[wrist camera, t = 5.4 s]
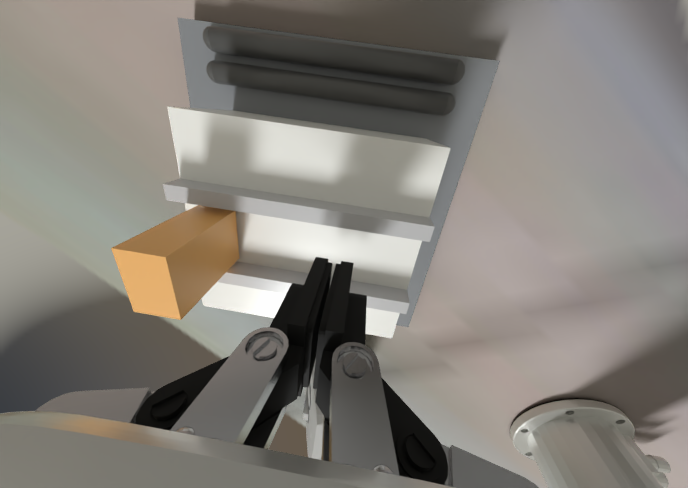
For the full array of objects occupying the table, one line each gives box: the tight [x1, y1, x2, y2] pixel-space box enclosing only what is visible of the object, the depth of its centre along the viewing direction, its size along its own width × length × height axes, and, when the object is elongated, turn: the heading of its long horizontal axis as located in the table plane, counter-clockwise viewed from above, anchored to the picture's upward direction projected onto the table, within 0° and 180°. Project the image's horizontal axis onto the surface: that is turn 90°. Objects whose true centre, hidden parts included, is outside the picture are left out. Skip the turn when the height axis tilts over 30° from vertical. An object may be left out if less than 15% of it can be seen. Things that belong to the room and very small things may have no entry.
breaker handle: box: [111, 205, 239, 320], centre depth 12 cm, size 2×3×5 cm, turn 173°
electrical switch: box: [303, 359, 324, 460], centre depth 26 cm, size 9×5×9 cm, turn 172°
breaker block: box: [163, 18, 500, 338], centre depth 17 cm, size 19×21×9 cm
